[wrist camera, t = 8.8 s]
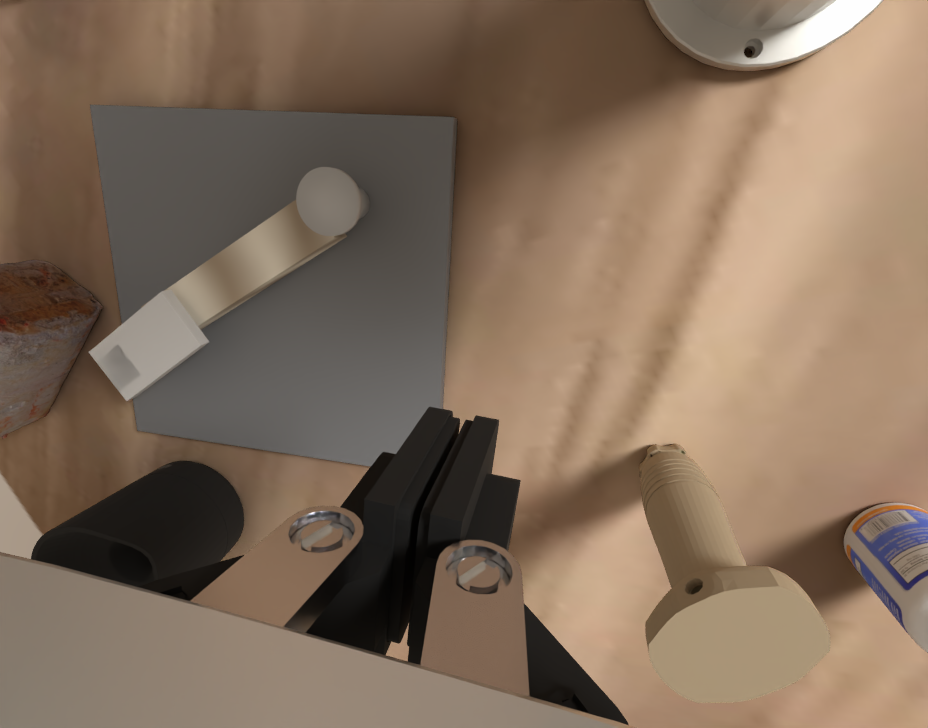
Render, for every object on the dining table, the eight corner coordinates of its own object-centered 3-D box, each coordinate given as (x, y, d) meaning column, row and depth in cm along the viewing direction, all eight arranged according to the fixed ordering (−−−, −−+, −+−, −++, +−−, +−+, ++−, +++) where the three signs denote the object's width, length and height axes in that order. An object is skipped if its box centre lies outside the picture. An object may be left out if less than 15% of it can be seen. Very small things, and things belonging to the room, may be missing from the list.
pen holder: (252, 468, 40) (155, 548, 31) (250, 566, 43) (161, 666, 34) (146, 442, 41) (22, 511, 32) (151, 539, 44) (39, 628, 35)
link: (321, 192, 31) (307, 191, 30) (347, 236, 32) (334, 238, 30) (161, 302, 36) (140, 306, 34) (185, 339, 36) (166, 345, 34)
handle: (730, 465, 33) (856, 660, 18) (643, 513, 35) (696, 721, 21) (687, 407, 32) (781, 563, 18) (601, 459, 34) (625, 635, 20)
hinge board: (103, 107, 34) (31, 91, 29) (457, 119, 30) (437, 103, 25) (147, 425, 41) (94, 452, 36) (439, 469, 37) (421, 506, 32)
